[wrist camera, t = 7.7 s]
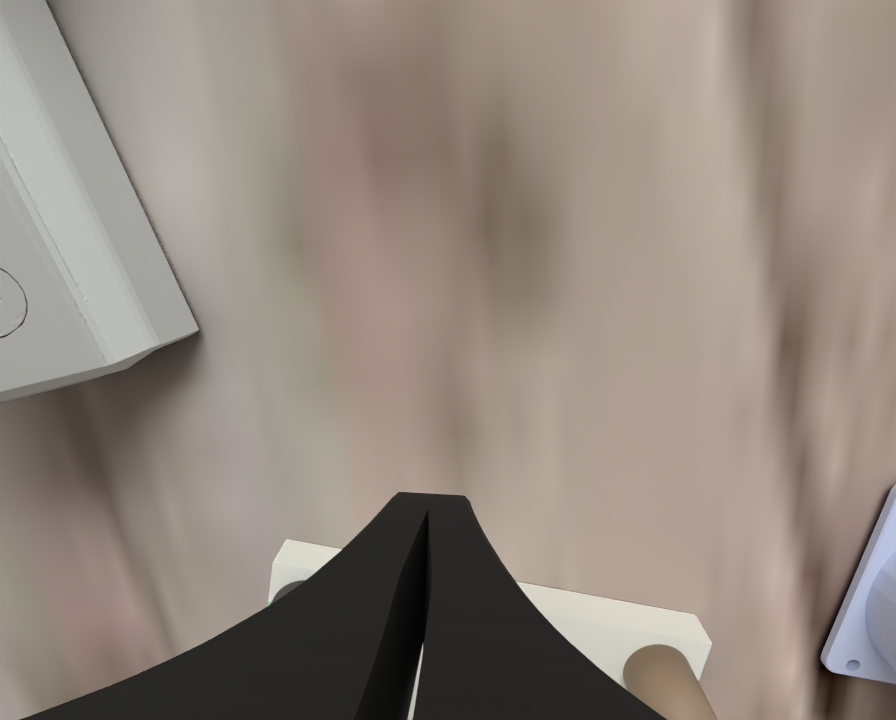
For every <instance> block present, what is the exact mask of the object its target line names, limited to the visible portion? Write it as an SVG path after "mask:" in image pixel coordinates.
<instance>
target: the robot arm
mask: <svg viewBox="0 0 896 720" xmlns="http://www.w3.org/2000/svg"><path fill="white" fill-rule="evenodd" d="M422 645H423V655H422V662H421V669H420V675H419V682H418V688H417V695H416V701H415V708H414V714H413V720H667V719H666V718H664V717H663V716H661V715H660V714H659V713H657V712H656V711H655V710H653V709H652V708H651V707H649V706H648V705H646V704H645V703H644V702H642V701H641V700H640V699H638V698H637V697H636V696H634V695H633V694H631V693H630V692H629V691H627V690H626V689H625V688H623V687H622V686H621V685H620V684H618V683H617V682H616V681H615V680H613V679H612V678H611V677H610V676H608V675H607V674H606V673H605V672H603V671H602V670H601V669H600V668H598V667H597V666H596V665H595V664H594V663H593V662H592V661H590V660H589V659H588V658H587V657H586V656H585V655H584V654H583V653H581V652H580V651H579V650H578V649H577V648H576V647H575V646H574V645H572V644H571V643H570V642H569V641H568V640H567V639H566V638H565V637H564V636H563V635H562V634H561V633H560V632H559V631H558V630H557V629H556V628H555V627H554V626H553V625H552V624H551V623H550V622H549V621H548V620H547V619H546V618H545V617H544V615H543V614H542V613H541V612H540V611H539V610H538V609H537V608H536V606H535V605H534V604H533V603H532V602H531V601H530V599H529V598H528V597H527V596H526V594H525V593H524V592H523V591H522V589H521V588H520V587H519V585H518V584H517V583H516V581H515V580H514V579H513V577H512V576H511V575H510V573H509V572H508V570H507V569H506V567H505V566H504V565H503V563H502V562H501V560H500V559H499V557H498V555H497V554H496V552H495V551H494V549H493V547H492V546H491V544H490V543H489V541H488V539H487V537H486V536H485V534H484V532H483V530H482V528H481V526H480V524H479V523H478V521H477V518H476V516H475V514H474V512H473V509H472V507H471V503H470V501H469V500H468V499H467V498H466V497H465V496H461V495H443V494H426V493H408V492H398V493H397V494H396V495H395V496H394V497H393V498H392V499H391V500H390V501H389V502H388V503H387V504H386V505H385V507H384V508H383V509H382V510H381V511H380V512H379V513H378V514H377V515H376V516H375V517H374V519H373V520H372V521H371V522H370V523H369V524H368V525H367V526H366V527H365V528H364V529H363V530H362V531H361V532H360V533H359V534H358V535H357V536H356V537H355V538H354V539H353V540H352V541H351V542H350V543H349V544H348V545H346V546H345V547H344V548H343V549H342V550H341V551H340V552H339V553H338V554H336V555H335V556H334V557H333V558H332V559H331V560H329V561H328V562H327V563H326V564H325V565H324V566H322V567H321V568H320V569H319V570H318V571H317V572H315V573H314V574H313V575H312V576H311V577H309V578H308V579H307V580H305V581H304V582H303V583H301V584H300V585H299V586H297V587H296V588H294V589H293V590H291V591H290V592H289V593H287V594H286V595H284V596H283V597H281V598H280V599H278V600H277V601H275V602H274V603H272V604H271V605H269V606H268V607H266V608H264V609H263V610H261V611H259V612H258V613H256V614H254V615H252V616H251V617H249V618H247V619H245V620H244V621H242V622H240V623H238V624H237V625H235V626H233V627H231V628H230V629H228V630H226V631H224V632H223V633H221V634H219V635H217V636H216V637H214V638H212V639H210V640H208V641H207V642H205V643H203V644H201V645H199V646H197V647H195V648H193V649H191V650H189V651H186V652H184V653H182V654H180V655H178V656H176V657H174V658H172V659H170V660H168V661H166V662H163V663H161V664H159V665H157V666H155V667H152V668H150V669H148V670H146V671H143V672H141V673H139V674H137V675H135V676H132V677H130V678H127V679H125V680H123V681H120V682H118V683H116V684H113V685H111V686H108V687H106V688H103V689H100V690H98V691H95V692H92V693H90V694H87V695H84V696H82V697H79V698H77V699H74V700H71V701H69V702H66V703H63V704H61V705H58V706H55V707H53V708H50V709H48V710H45V711H42V712H40V713H37V714H34V715H32V716H29V717H26V718H23V719H20V720H408V715H409V710H410V705H411V700H412V695H413V690H414V685H415V680H416V675H417V670H418V665H419V660H420V655H421V650H422ZM850 660H851V661H850ZM821 661H822V663H823V664H824V665H825V666H826V668H827V669H828V670H829V671H831V672H834V673H838V674H843V675H849V676H854V677H860V678H865V679H871V680H876V681H881V682H887V683H892V684H896V485H894V486H893V488H892V489H891V491H890V493H889V495H888V498H887V500H886V502H885V505H884V507H883V509H882V512H881V514H880V517H879V519H878V521H877V524H876V526H875V528H874V531H873V533H872V535H871V538H870V540H869V542H868V545H867V547H866V550H865V552H864V554H863V557H862V559H861V561H860V564H859V566H858V568H857V571H856V573H855V575H854V578H853V580H852V583H851V585H850V587H849V590H848V592H847V594H846V597H845V599H844V601H843V604H842V606H841V608H840V611H839V613H838V615H837V618H836V620H835V623H834V625H833V627H832V630H831V632H830V634H829V637H828V639H827V641H826V644H825V646H824V648H823V651H822V653H821ZM848 661H850V662H848ZM847 662H848V663H847Z"/></svg>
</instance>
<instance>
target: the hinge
mask: <svg viewBox="0 0 896 720" xmlns="http://www.w3.org/2000/svg"><path fill="white" fill-rule="evenodd" d="M198 330H199V328H198V326H197V324H196V322H195V320H194V318H193V315H192V313H191V311H190V309H189V307H188V305H187V303H186V300H185V298H184V296H183V294H182V292H181V290H180V288H179V285H178V283H177V281H176V279H175V277H174V275H173V273H172V270H171V268H170V266H169V264H168V262H167V260H166V258H165V255H164V253H163V251H162V249H161V247H160V245H159V243H158V240H157V238H156V236H155V234H154V232H153V230H152V228H151V225H150V223H149V221H148V219H147V217H146V215H145V213H144V210H143V208H142V206H141V204H140V202H139V200H138V198H137V195H136V193H135V191H134V189H133V187H132V185H131V183H130V180H129V178H128V176H127V174H126V172H125V170H124V168H123V165H122V163H121V161H120V159H119V157H118V155H117V153H116V150H115V148H114V146H113V144H112V142H111V140H110V138H109V135H108V133H107V131H106V129H105V127H104V125H103V123H102V120H101V118H100V116H99V114H98V112H97V110H96V108H95V105H94V103H93V101H92V99H91V97H90V95H89V93H88V90H87V88H86V86H85V84H84V82H83V80H82V78H81V75H80V73H79V71H78V69H77V67H76V65H75V63H74V60H73V58H72V56H71V54H70V52H69V50H68V48H67V45H66V43H65V41H64V39H63V37H62V35H61V33H60V30H59V28H58V26H57V24H56V22H55V20H54V18H53V16H52V13H51V11H50V9H49V7H48V5H47V3H46V1H45V0H0V404H1V403H4V402H8V401H12V400H16V399H20V398H23V397H27V396H31V395H35V394H39V393H43V392H46V391H50V390H54V389H58V388H62V387H66V386H69V385H73V384H77V383H81V382H85V381H88V380H92V379H96V378H100V377H103V375H106V374H110V373H114V372H118V371H122V370H126V369H128V368H129V367H130V366H132V365H133V364H135V363H136V362H138V361H139V360H141V359H142V358H144V357H145V356H147V355H148V354H150V353H151V352H153V351H154V350H156V349H159V348H161V347H164V346H166V345H169V344H171V343H174V342H176V341H179V340H181V339H183V338H186V337H188V336H191V335H192V334H194V333H195V332H197V331H198Z"/></svg>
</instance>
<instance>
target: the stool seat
mask: <svg viewBox="0 0 896 720" xmlns="http://www.w3.org/2000/svg"><path fill="white" fill-rule="evenodd" d="M341 550H342V549H338V548H332V547H327V546H322V545H316V544H311V543H305V542H300V541H295V540H289V539H286V541H285V543H284V544H283V546H282V548H281V549H280V551H279V553H278V555H277V556H276V558H275V560H274V561H273V566H272V574H271V582H270V590H269V599H268V602H267V607H268V606H269V605H270V604H271V602H272V600H273V598H274V596H275V595H276V593H277V592H278V591H279V590H280V589H281V588H283V587H284V586H285V585H287V584H289V583H292V582H295V581H300V580H307V579H308V578H309V577H311V576H312V575H313V574H314V573H315V572H317V571H318V570H319V569H320V568H321V567H322V566H324V565H325V564H326V563H327V562H328V561H329V560H331V559H332V558H333V557H334V556H335V555H336V554H338V553H339V552H340V551H341ZM516 583H517V584H518V585H519V587H520V588H521V589H522V591H523V592H524V593H525V594H526V596H527V597H528V598H529V599H530V601H531V602H532V603H533V604H534V605H535V606H536V608H537V609H538V610H539V611H540V612H541V613H542V614H543V615H544V617H545V618H546V619H547V620H548V621H549V622H550V623H551V624H552V625H553V626H554V627H555V628H556V629H557V630H558V631H559V632H560V633H561V634H562V635H563V636H564V637H565V638H566V639H567V640H568V641H569V642H570V643H571V644H572V645H574V646H575V647H576V648H577V649H578V650H579V651H580V652H581V653H583V654H584V655H585V656H586V657H587V658H588V659H589V660H590V661H592V662H593V663H594V664H595V665H596V666H597V667H598V668H600V669H601V670H602V671H603V672H605V673H606V674H607V675H608V676H610V677H611V678H612V679H613V680H615V681H616V682H617V683H618V684H620V685H621V686H622V687H623V688H625V689H626V690H627V691H629V692H630V693H631V694H633V695H634V696H636V697H637V698H638V699H640V700H641V701H642V702H644V703H645V704H646V705H648V706H649V707H651V708H652V709H653V710H655V711H656V712H657V713H659V714H660V715H661V716H663V717H664V718H666V719H667V720H717V718H716V716H715V714H714V712H713V710H712V708H711V706H710V704H709V702H708V700H707V698H706V696H705V694H704V692H703V690H702V688H701V686H700V684H699V682H698V681H699V679H700V676H701V673H702V670H703V668H704V665H705V662H706V659H707V657H708V654H709V651H710V648H711V646H712V643H711V641H710V639H709V637H708V636H707V634H706V632H705V631H704V629H703V627H702V625H701V624H700V622H699V620H698V619H697V617H696V615H694V614H689V613H683V612H678V611H673V610H667V609H662V608H656V607H651V606H646V605H640V604H635V603H629V602H624V601H619V600H613V599H608V598H602V597H597V596H592V595H586V594H581V593H575V592H570V591H565V590H559V589H554V588H548V587H543V586H538V585H532V584H527V583H521V582H516ZM422 655H423V645H422V650H421V655H420V660H419V665H418V670H417V675H416V680H415V685H414V690H413V695H412V700H411V705H410V710H409V715H408V720H413V714H414V708H415V701H416V695H417V688H418V682H419V675H420V669H421V662H422Z"/></svg>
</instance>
